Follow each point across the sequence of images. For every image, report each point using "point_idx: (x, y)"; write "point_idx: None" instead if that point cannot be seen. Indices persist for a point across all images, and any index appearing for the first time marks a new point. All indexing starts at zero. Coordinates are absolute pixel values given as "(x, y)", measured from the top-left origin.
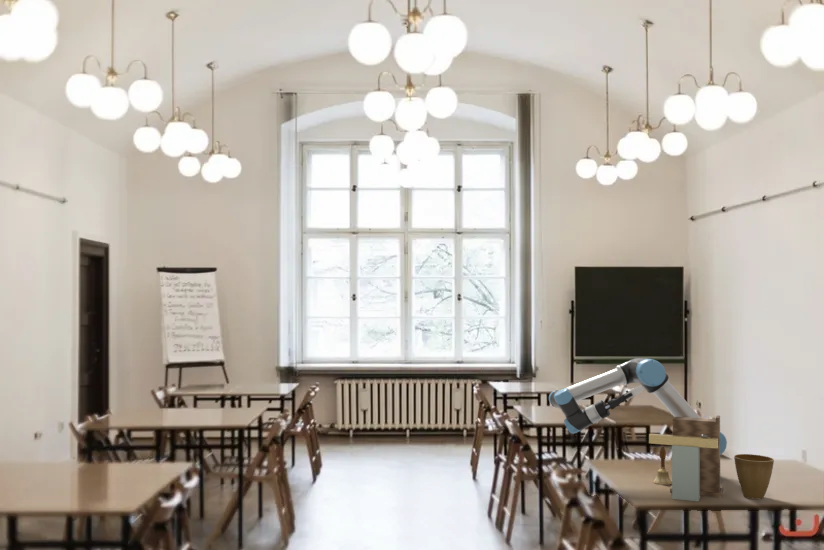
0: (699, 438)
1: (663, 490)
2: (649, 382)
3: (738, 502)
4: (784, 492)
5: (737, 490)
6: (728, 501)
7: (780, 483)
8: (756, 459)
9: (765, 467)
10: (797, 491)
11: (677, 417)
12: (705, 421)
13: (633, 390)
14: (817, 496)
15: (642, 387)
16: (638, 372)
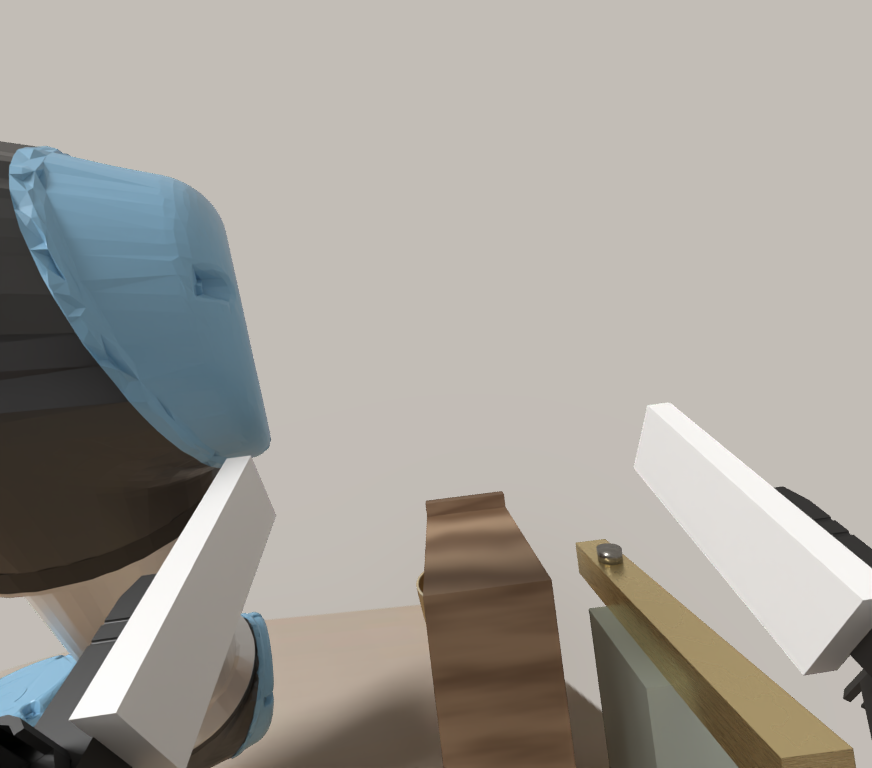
0: (635, 565)
1: None
2: (266, 418)
3: (576, 703)
4: (386, 646)
5: (407, 732)
6: (587, 727)
7: (279, 664)
8: (421, 591)
9: None
10: (365, 631)
11: (459, 581)
12: (512, 519)
13: (713, 453)
14: (402, 606)
15: (263, 488)
16: (160, 286)
